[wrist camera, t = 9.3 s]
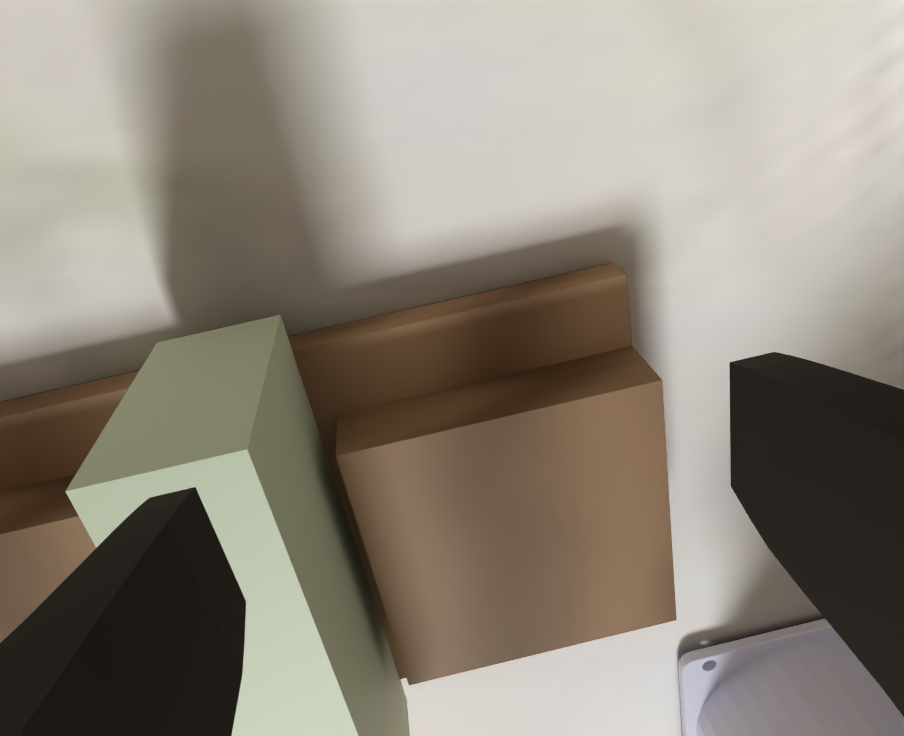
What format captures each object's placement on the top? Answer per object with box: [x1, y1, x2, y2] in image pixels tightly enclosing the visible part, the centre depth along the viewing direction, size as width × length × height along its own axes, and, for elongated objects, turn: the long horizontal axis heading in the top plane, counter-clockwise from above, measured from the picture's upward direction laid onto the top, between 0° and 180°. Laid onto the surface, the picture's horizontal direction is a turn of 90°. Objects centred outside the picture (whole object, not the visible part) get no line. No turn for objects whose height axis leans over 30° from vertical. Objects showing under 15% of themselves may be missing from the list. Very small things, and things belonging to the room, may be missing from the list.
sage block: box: [65, 315, 410, 736], centre depth 17 cm, size 14×3×6 cm, turn 11°
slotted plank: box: [0, 263, 676, 685], centre depth 19 cm, size 20×12×3 cm, turn 101°
